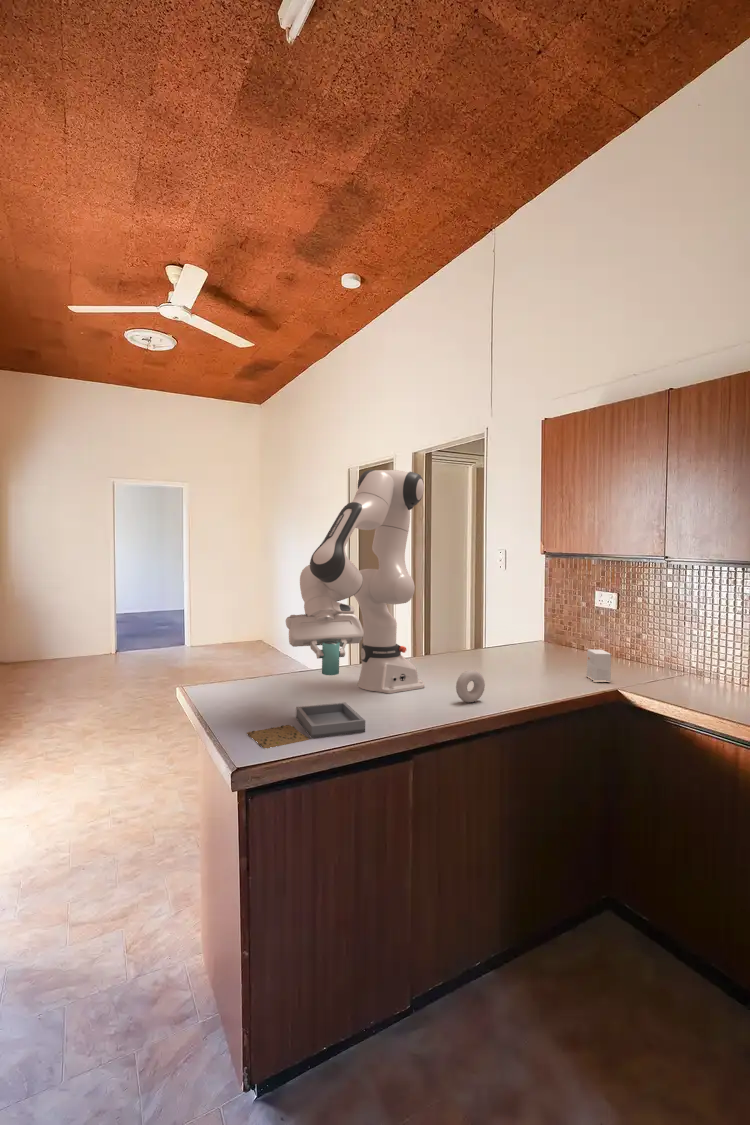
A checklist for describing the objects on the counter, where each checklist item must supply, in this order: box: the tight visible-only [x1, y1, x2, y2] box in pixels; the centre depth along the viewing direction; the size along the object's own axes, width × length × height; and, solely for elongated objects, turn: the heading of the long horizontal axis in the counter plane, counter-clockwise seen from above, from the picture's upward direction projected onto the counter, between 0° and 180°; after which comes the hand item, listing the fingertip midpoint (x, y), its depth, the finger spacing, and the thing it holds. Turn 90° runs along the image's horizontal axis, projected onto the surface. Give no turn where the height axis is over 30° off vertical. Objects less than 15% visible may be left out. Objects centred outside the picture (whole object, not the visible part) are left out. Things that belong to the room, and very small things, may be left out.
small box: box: [586, 648, 612, 682], centre depth 195 cm, size 8×6×10 cm
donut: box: [455, 669, 486, 703], centre depth 165 cm, size 10×4×10 cm, turn 116°
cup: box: [321, 641, 341, 676], centre depth 142 cm, size 4×4×8 cm
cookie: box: [246, 724, 310, 749], centre depth 134 cm, size 12×12×1 cm
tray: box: [295, 701, 366, 739], centre depth 143 cm, size 14×16×3 cm
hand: (331, 656), depth 141 cm, fingers closed on cup, 4 cm apart
